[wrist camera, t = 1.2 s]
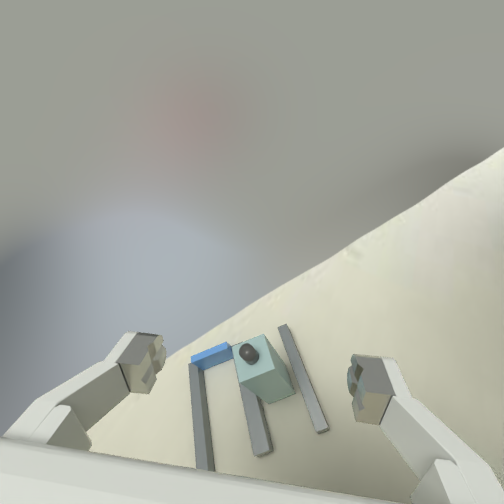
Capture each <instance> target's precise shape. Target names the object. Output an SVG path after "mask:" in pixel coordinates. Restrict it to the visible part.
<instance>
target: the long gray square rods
mask: <svg viewBox="0 0 504 504" xmlns="http://www.w3.org/2000/svg"><path fill="white" fill-rule="evenodd" d="M278 330H279V333H280V335H281V338H282V341H283V343H284V346H285V349H286V352H287V354H288V357H289V360H290V362H291V365H292V368H293V371H294V373H295V376H296V379H297V381H298V384H299V387H300V390H301V392H302V395H303V398H304V400H305V403H306V406H307V409H308V411H309V414H310V417H311V419H312V422H313V425H314V427H315V430H316V432H317V433H318V434H319V433H321V432H324V431H326V430H329V427H328V425H327V422H326V420H325V417H324V415H323V412H322V410H321V407H320V405H319V402H318V400H317V397H316V395H315V392H314V390H313V387H312V385H311V382H310V380H309V378H308V375H307V373H306V370H305V368H304V365H303V363H302V360H301V358H300V355H299V353H298V350H297V348H296V345H295V343H294V340H293V338H292V335H291V333H290V330H289V328H288V326H287V324H284V325H282V326H279V327H278ZM241 343H242V342H241ZM238 344H240V343H238ZM236 345H237V344H236ZM233 346H235V345H233ZM233 346H230V345H229V344H228V343H227V342H225V343H222V344H220V345H218V346H215V347H213V348H210V349H208V350H205V351H203V352H201V353H198V354H196V355H193V356H191V363H190V364H188V365H189V378H190V391H191V404H192V417H193V430H194V443H195V457H196V469H200V470H206V471H212V472H215V467H214V459H213V450H212V441H211V433H210V424H209V416H208V407H207V399H206V390H205V381H204V373H203V370H205V369H208V368H210V367H213V366H215V365H218V364H220V363H222V362H225V361H227V360H230V359H232V358H234V355H233V351H232V347H233ZM234 363H235V360H234ZM235 367H236V365H235ZM236 372H237V370H236ZM237 377H238V374H237ZM238 382H239V379H238ZM239 386H240V391H241V396H242V401H243V406H244V410H245V415H246V420H247V425H248V430H249V434H250V439H251V444H252V449H253V454H254V456H257V457H259V456H262V455H264V454H267V453H270V452H272V451H273V447H272V443H271V439H270V435H269V431H268V428H267V424H266V420H265V416H264V412H263V408H262V404H261V400H260V397H258V396H257V395H255V394H254V393H253V392H251V391H250V390H248V389H247V388H246V387H244V386H243V385H242V384H240V383H239Z"/></svg>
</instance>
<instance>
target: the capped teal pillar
mask: <svg viewBox="0 0 504 504" xmlns="http://www.w3.org/2000/svg"><path fill="white" fill-rule="evenodd" d="M232 351H233V355H234V360H235V365H236V370H237V374H238V379H239V383H240V384H242V385H243V386H244V387H246V388H247V389H248V390H250V391H251V392H253V393H254V394H255V395H257V396H258V397H260V398H261V399H262V400H264V401H265V402H267V403H268V404H270V403H273V402H275V401H278V400H281V399H283V398H286V397H288V396H291V395H293V394H295V391H294V388H293V385H292V382H291V379H290V377H289V374H288V371H287V368H286V365H285V364H284V362H283V361H282V359H281V358H280V356H279V355H278V354H277V352H276V351H275V349H274V348H273V346H272V345H271V344H270V342H269V341H268V339H267V338H266V336H265V335H264V334H262V335H259V336H257V337H254V338H252V339H250V340H247V341H245V342H242V343H240V344H237V345H235V346H233V347H232Z"/></svg>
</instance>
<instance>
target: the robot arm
mask: <svg viewBox="0 0 504 504" xmlns="http://www.w3.org/2000/svg"><path fill="white" fill-rule="evenodd" d="M162 343H163V337H162V336H161V335H156V334H148V333H140V332H131V331H128V332H126V333H125V334H124V335H123V337H122V338H121V339H120V340H119V342H118V343H117V344H116V346H115V347H114V348H113V350H112V351H111V352H110V353H109V355H108V356H107V357H106V359H105V360H104V361H103V362H101V361H100V362H98V363H96V364H95V365H93V366H91V367H90V368H88V369H86V370H85V371H83V372H81V373H80V374H78V375H76V376H75V377H73V378H71V379H70V380H68V381H66V382H65V383H63V384H61V385H59V386H58V387H56V388H54V389H53V390H51V391H49V392H48V393H46V394H44V395H43V396H41V397H39V398H38V399H36V400H35V401H34V402H33V403H32V404H31V405H30V406H29V408H28V409H27V410H26V411H25V412H24V413H23V414H22V415H21V416H20V417H19V419H18V420H17V421H16V422H15V423H14V424H13V425H12V426H11V427H10V428H9V430H8V431H7V432H6V433H5V434H4V435H3V436H2V437H0V504H405V503H399V502H393V501H387V500H381V499H375V498H369V497H363V496H357V495H351V494H345V493H339V492H332V491H326V490H320V489H314V488H308V487H302V486H296V485H290V484H284V483H278V482H272V481H266V480H260V479H254V478H248V477H242V476H236V475H230V474H224V473H218V472H212V471H206V470H200V469H194V468H188V467H182V466H176V465H170V464H164V463H158V462H152V461H146V460H140V459H134V458H127V457H121V456H115V455H109V454H103V453H97V452H91V451H89V449H90V447H91V446H92V442H91V440H90V438H89V436H88V435H87V433H86V431H88V430H89V429H90V428H91V427H92V426H93V425H94V424H96V423H97V422H98V421H99V420H100V419H101V418H102V417H104V416H105V415H106V414H107V413H108V412H109V411H110V410H112V409H113V408H114V407H115V406H116V405H117V404H118V403H120V402H121V401H122V400H123V399H124V398H125V397H126V396H128V395H129V394H130V393H129V392H131V393H141V394H149V393H150V391H151V389H152V387H153V386H154V384H155V382H156V380H157V379H156V374H157V373H158V372H159V371H161V370H162V368H163V366H164V363H165V360H166V349H165V347H164V346H163V345H162ZM351 363H352V366H351V367H349V369H348V373H347V382H348V389H349V393H350V394H351V395H352V396H353V397H354V398H353V401H352V407H353V411H354V416H355V420H356V422H362V423H368V424H374V425H380V426H379V427H380V428H381V429H382V431H383V432H384V434H385V435H386V436H387V438H388V439H389V440H390V442H391V443H392V444H393V446H394V447H395V448H396V450H397V451H398V452H399V454H400V455H401V456H402V458H403V459H404V460H405V462H406V463H407V464H408V466H409V467H410V468H411V470H412V471H413V472H414V474H415V475H416V476H417V478H418V479H419V480H420V483H419V484H418V486H417V487H416V488H415V490H414V491H413V493H412V494H411V496H410V498H411V501H412V504H504V490H503V488H502V487H501V485H500V483H499V481H498V480H497V478H496V476H495V474H494V473H493V471H492V469H491V468H490V466H489V465H488V464H487V463H486V462H485V461H484V460H483V459H482V458H481V457H480V456H479V455H478V454H476V453H475V452H474V451H473V450H472V449H471V448H470V447H469V446H468V445H467V444H466V443H464V442H463V441H462V440H461V439H460V438H459V437H458V436H457V435H456V434H455V433H454V432H453V431H451V430H450V429H449V428H448V427H447V426H446V425H445V424H444V423H443V422H442V421H441V420H439V419H438V418H437V417H436V416H435V415H434V414H433V413H432V412H431V411H430V410H429V409H428V408H426V407H425V406H424V405H423V404H422V403H421V402H420V401H419V400H418V399H414V398H412V395H411V393H410V391H409V389H408V387H407V384H406V382H405V380H404V378H403V376H402V373H401V371H400V369H399V367H398V365H397V362H396V360H395V359H394V358H388V357H379V356H369V355H357V354H353V355H352V358H351Z"/></svg>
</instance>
